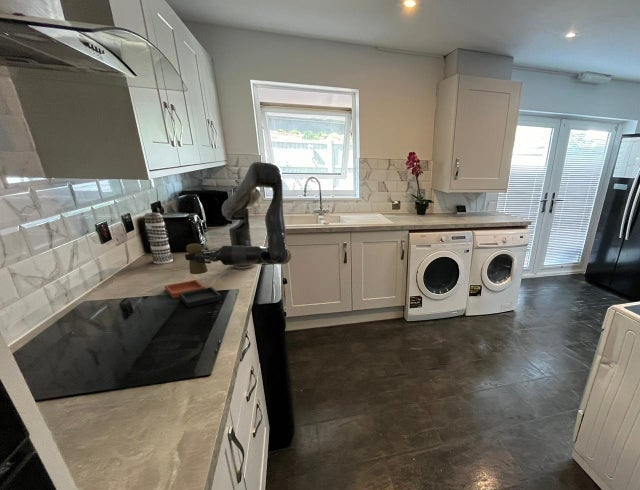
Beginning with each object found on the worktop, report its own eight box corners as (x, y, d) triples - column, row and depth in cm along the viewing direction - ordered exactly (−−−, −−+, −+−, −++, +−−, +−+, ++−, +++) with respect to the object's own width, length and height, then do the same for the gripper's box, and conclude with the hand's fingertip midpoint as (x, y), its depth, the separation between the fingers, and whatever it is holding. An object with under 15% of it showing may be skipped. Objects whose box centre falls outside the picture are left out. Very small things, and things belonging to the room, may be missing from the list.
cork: (186, 272, 123) (180, 244, 120) (201, 268, 128) (196, 241, 125) (196, 275, 121) (190, 246, 117) (211, 271, 126) (206, 243, 122)
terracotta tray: (165, 290, 133) (164, 285, 133) (197, 283, 141) (196, 279, 141) (173, 298, 126) (172, 293, 125) (205, 291, 134) (205, 286, 133)
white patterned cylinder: (177, 258, 174) (167, 212, 165) (167, 264, 165) (156, 214, 156) (159, 258, 173) (149, 211, 164) (148, 263, 164) (136, 214, 156)
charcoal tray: (180, 298, 126) (179, 293, 126) (212, 291, 134) (211, 286, 134) (188, 307, 119) (187, 302, 118) (222, 299, 127) (221, 294, 126)
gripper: (241, 241, 129) (195, 241, 127) (228, 250, 116) (176, 250, 114) (243, 259, 132) (199, 259, 130) (231, 270, 119) (181, 270, 117)
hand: (189, 255), depth 122 cm, fingers closed on cork, 4 cm apart
